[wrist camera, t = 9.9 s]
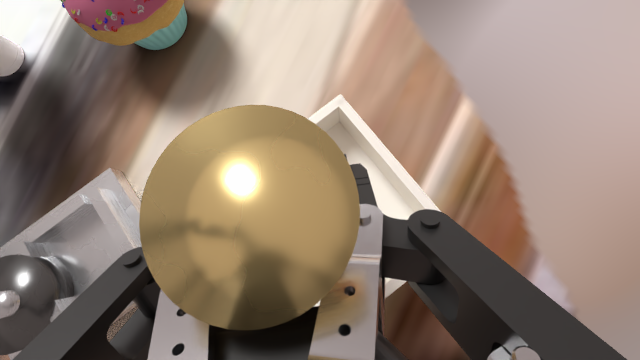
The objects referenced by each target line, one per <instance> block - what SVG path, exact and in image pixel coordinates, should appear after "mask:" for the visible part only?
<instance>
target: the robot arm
mask: <svg viewBox="0 0 640 360" xmlns="http://www.w3.org/2000/svg"><path fill="white" fill-rule="evenodd" d="M344 155H345V157H346V159H347V156H346V154H344ZM350 167H351V169H352V172H353V175H354V178H355V180H356V185H357V189H358V194H359V204H360V222H359V230H358V235H357V241H356V244H355V247H354V250H353V253H352V256H351V258H350V260H349V262H348V264H347V267H346V269H345V270H344V272H343V274H342V275H341V277H340V278H339V280H338V281H337V283H336V284H335V285H334V286H333V288H332V289H331V290H330V291H329V292H328V293H327V295H326V296H325V297H323V298H322V299H321V300H320V305H319V306H315V307H312V308H310V309H309V310H307V311H306V312H304V313H303V314H301V315H300V316H298V317H296V318H294V319H292V320H290V321H288V322H285V323H282V324H279V325H276V326H273V327H268V328H263V329H258V330H233V329H225V328H221V327H217V326H212V325H210V324H207V323H205V322H202V321H200V320H198V319H196V318H194V317H192V316H191V315H189V314H187V313H186V312H184V311H183V310H182V309H180V308H179V307H178V306H177V305H175V304H174V303H173V302H172V301H171V300H170V299H169V298H168V297H167V296H166V295H165V293H164V292H163V291H162V290H161V288H160V287H159V285H158V284H157V283H156V281H155V279H154V278H153V276H152V274H151V272H150V270H149V268H148V265H147V262H146V260H145V257H144V254H143V250H142V247H137V248H134V249H132V250H130V251H128V252H126V253H124V254H123V255H122V256H120V257H119V258H118V259H117V260H116V261H115V262H114V263H113V264H112V265H111V266H110V267H109V268H108V269H107V270H106V271H105V272H103V273H102V274H101V275H100V276H99V277H98V278H97V279H96V280H95V281H94V282H93V283H92V284H91V285H90V286H89V287H88V288H87V289H86V290H85V291H84V292H83V293H81V294H80V295H79V296H78V297H77V298H76V299H75V300H74V301H73V302H72V303H71V304H70V305H69V306H68V307H67V308H66V309H65V310H64V311H63V312H62V313H61V314H60V315H58V316H57V317H56V318H55V319H54V320H53V321H52V322H51V323H50V324H49V325H48V326H47V327H46V328H45V329H44V330H43V331H42V332H41V333H40V334H39V335H38V336H36V337H35V338H34V339H33V340H32V341H31V342H30V343H29V344H28V345H27V346H26V347H25V348H24V349H23V350H22V351H21V352H20V353H19V354H18V355H17V356H16V357H14V358H13V359H12V360H408V359H407V358H406V357H405V356H404V355H403V354H402V353H401V352H400V351H399V350H398V349H397V348H396V347H395V346H394V345H393V344H391V343H390V342H389V341H388V340H387V339H386V338H385V337H384V309H385V278H391V279H397V280H404V281H408V283H409V285H410V286H411V287H412V289H413V290H414V291H415V292H416V293H417V295H418V296H419V297H420V298H421V299H422V301H423V302H424V303H425V304H426V305H427V307H428V308H429V309H430V310H431V311H432V313H433V314H434V315H435V316H436V318H437V319H438V320H439V321H440V322H441V324H442V325H443V326H444V327H445V328H446V330H447V331H448V332H449V333H450V334H451V336H452V337H453V338H454V339H455V340H456V342H457V343H458V344H459V345H460V346H461V348H462V349H463V350H464V351H465V352H466V354H467V355H468V356H469V357H470V359H471V360H627V359H626V358H624V357H623V356H622V355H621V354H619V353H618V352H617V351H616V350H614V349H613V348H612V347H611V346H609V345H608V344H607V343H606V342H604V341H603V340H602V339H600V338H599V337H598V336H597V335H595V334H594V333H593V332H592V331H591V330H589V329H588V328H587V327H586V326H584V325H583V324H582V323H581V322H580V321H578V320H577V319H576V318H575V317H573V316H572V315H571V314H570V313H568V312H567V311H566V310H565V309H563V308H562V307H561V306H560V305H558V304H557V303H556V302H555V301H553V300H552V299H551V298H550V297H548V296H547V295H546V294H545V293H543V292H542V291H541V290H540V289H538V288H537V287H536V286H535V285H533V284H532V283H531V282H530V281H528V280H527V279H526V278H525V277H523V276H522V275H521V274H520V273H518V272H517V271H516V270H515V269H513V268H512V267H511V266H510V265H508V264H507V263H506V262H505V261H503V260H502V259H501V258H500V257H498V256H497V255H496V254H495V253H493V252H492V251H491V250H490V249H488V248H487V247H486V246H485V245H483V244H482V243H481V242H480V241H478V240H477V239H476V238H475V237H473V236H472V235H471V234H470V233H468V232H467V231H466V230H465V229H464V228H462V227H461V226H460V225H459V224H457V223H456V222H455V221H454V220H452V219H451V218H450V217H449V216H447V215H446V214H444V213H442V212H440V211H437V210H432V209H423V210H419V211H416V212H414V213H413V214H411V215H410V216H409V218H408V220H404V219H395V218H391V217H389V216H386V215H385V214H383V213H382V211H381V210H380V209H379V208H378V206H377V203H376V199H375V196H374V192H373V189H372V186H371V182H370V179H369V175H368V172H367V169H366V168H365V167H364V166H362V165H361V164H360V163H359V164H352V165H350ZM132 300H133V302H134V303H135V304H136V306H137V307H138V309H137V310H136V312H135V313H134V314H133V315H132V316H131V318H130V319H129V320H128V321H127V322H126V323H125V325H124V326H123V327H122V328H121V329H120V330H119V332H118V333H117V334H116V335H115V336H114V337H113V339H112V340H111V341H110V342H108V340H107V331H108V329H109V327H110V325H111V324H112V323H113V322H114V321H115V320H116V318H117V317H118V316H119V315H120V314H121V313H122V312H123V311H124V309H125V308H126V307H127V306H128V305H129V304H130V303H131V302H132Z"/></svg>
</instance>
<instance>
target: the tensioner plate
mask: <svg viewBox="0 0 640 360" xmlns="http://www.w3.org/2000/svg"><path fill="white" fill-rule="evenodd" d="M140 207H141V201H140V200H139V198H138V197H137V195H136V193H135V192H134V190H133V189H132V187H131V186H130V184H129V182H128V181H127V179H126V178H125V176H124V175H123V173H122V171H119V170H116V169H113V168H109V169H107V170H106V171H105V172H103V173H102V174H100V175H99V176H98V177H96V178H95V179H94V180H92V181H91V182H90V183H88V184H87V185H85V186H84V187H83V188H81V189H80V190H79V191H77V192H76V193H75V194H73V195H72V196H70V197H69V198H68V199H66V200H65V201H64V202H62V203H61V204H60V205H58V206H57V207H55V208H54V209H53V210H51V211H50V212H49V213H47V214H46V215H45V216H43V217H42V218H40V219H39V220H38V221H36V222H35V223H34V224H32V225H31V226H30V227H28V228H27V229H25V230H24V231H23V232H21V233H20V234H19V235H17V236H16V237H14V238H13V239H12V240H10V241H9V242H8V243H6V244H5V245H4V246H2V247H1V248H0V355H7V354H8V355H9V358H10V360H12V359H13V358H14V357H16V356H17V355H18V354H19V353H20V352H21V351H22V350H23V349H24V348H25V347H26V346H27V345H28V344H29V343H30V342H31V341H32V340H33V339H34V338H35V337H36V336H38V335H39V334H40V333H41V332H42V331H43V330H44V329H45V328H46V327H47V326H48V325H49V324H50V323H51V322H52V321H53V320H54V319H55V318H56V317H57V316H58V315H60V314H61V313H62V312H63V311H64V310H65V309H66V308H67V307H68V306H69V305H70V304H71V303H72V302H73V301H74V300H75V299H76V298H77V297H78V296H79V295H80V294H81V293H83V292H84V291H85V290H86V289H87V288H88V287H89V286H90V285H91V284H92V283H93V282H94V281H95V280H96V279H97V278H98V277H99V276H100V275H101V274H102V273H103V272H105V271H106V270H107V269H108V268H109V267H110V266H111V265H112V264H113V263H114V262H115V261H116V260H117V259H118V258H119V257H120V256H122V255H123V254H124V253H126V252H128V251H130V250H132V249H134V248H137V247H142V245H141V240H140V229H139V218H140ZM134 307H136V304H135V303H134V302H133V300H132V302H131V303H130V304H129V305H128V306H127V307H126V308H125V309H124V311H123V312H122V313H121V314H120V315H119V316H118V317H117V318H116V320H115V321H114V322H113V323H115V322H116V321H117V320H119V319H120V318H121V317H123V316H124V315H125V314H126V313H128V312H129V311H130V310H132V309H133V308H134ZM113 323H112V324H113ZM112 324H111V325H112ZM111 325H110V326H111Z"/></svg>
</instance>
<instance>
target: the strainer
mask: <svg viewBox="0 0 640 360" xmlns="http://www.w3.org/2000/svg"><path fill="white" fill-rule="evenodd" d="M23 60H24V51H23V49H22V48H21V46H19V45H18V44H16V43H15V42H13V41H11V40H9V39H8V38H6V37H4V36H3V35H1V34H0V76H8V75H11V74H13V73H14V72H16V71H17V70H18V69H19V68H20V66H21V65H22V63H23Z"/></svg>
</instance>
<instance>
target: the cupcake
mask: <svg viewBox="0 0 640 360" xmlns="http://www.w3.org/2000/svg"><path fill="white" fill-rule="evenodd" d="M61 1H62V0H61ZM62 2H63V3H62V6H63V7H64V8H66V10H67V11H68V13H69V15H70V16H71V17H72V18H73V19H74V20H75V21H76V23H77V24H78V25H79V26H80V27H81V28H83V29H84V30H85V31H86V32H87V33H88V34H89V35H90V36H92V37H93V38H95V39H97V40H99V41H104V42H107V43H110V44H114V45H129V44H132V43H135V44H137V45H139V46H141V47H143V48H146V49H150V50H160V49H165V48H167V47H169V46H171V45H173V44H174V43H176V42H177V41H178V40H179V39H180V38H181V36H182V35H183V33H184V32H185V29H186V26H187V14H186V11H185V7H184V0H63V1H62ZM63 4H64V5H63Z"/></svg>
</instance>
